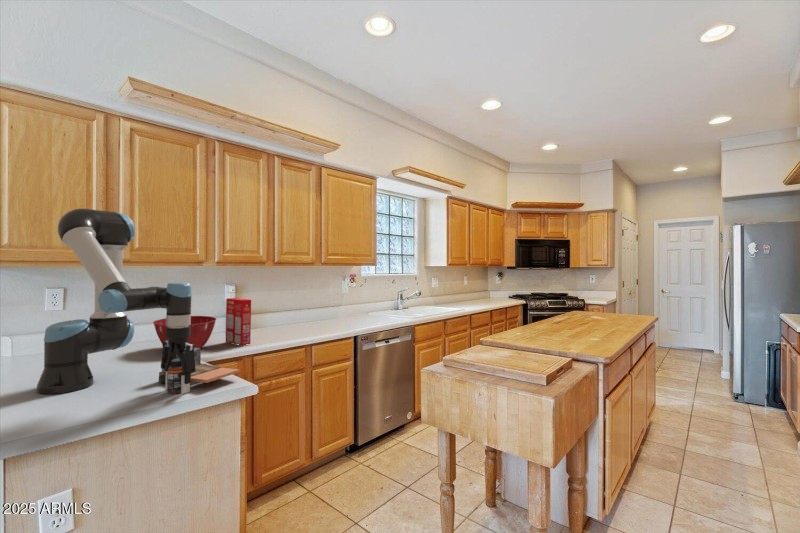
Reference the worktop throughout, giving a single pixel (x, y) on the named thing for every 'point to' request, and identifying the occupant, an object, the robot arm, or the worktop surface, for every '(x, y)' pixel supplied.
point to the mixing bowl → (199, 330)
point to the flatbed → (198, 366)
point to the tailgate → (214, 375)
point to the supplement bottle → (174, 376)
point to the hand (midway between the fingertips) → (177, 390)
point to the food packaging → (238, 321)
